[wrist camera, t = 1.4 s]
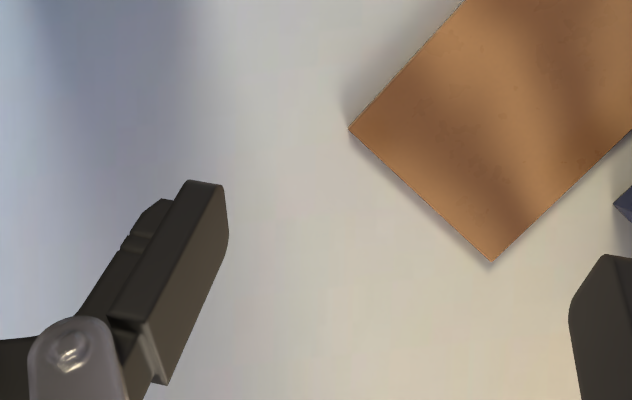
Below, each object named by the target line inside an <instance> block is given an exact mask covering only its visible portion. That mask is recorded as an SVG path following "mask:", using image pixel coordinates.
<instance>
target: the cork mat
mask: <svg viewBox="0 0 632 400" xmlns="http://www.w3.org/2000/svg"><path fill="white" fill-rule="evenodd" d="M631 129H632V0H465V1H464V2H463V3H462V4H461V5H460V6H459V7H458V8H457V9H456V10H455V12H454V13H453V14H452V15H451V16H450V17H449V18H448V19H447V20H446V21H445V22H444V24H443V25H442V26H441V27H440V28H439V29H438V30H437V31H436V32H435V33H434V34H433V35H432V37H431V38H430V39H429V40H428V41H427V42H426V43H425V44H424V45H423V46H422V47H421V48H420V50H419V51H418V52H417V53H416V54H415V55H414V56H413V57H412V58H411V59H410V60H409V62H408V63H407V64H406V65H405V66H404V67H403V68H402V69H401V70H400V71H399V72H398V73H397V75H396V76H395V77H394V78H393V79H392V80H391V81H390V82H389V83H388V84H387V85H386V87H385V88H384V89H383V90H382V91H381V92H380V93H379V94H378V95H377V96H376V97H375V98H374V100H373V101H372V102H371V103H370V104H369V105H368V106H367V107H366V108H365V109H364V110H363V111H362V113H361V114H360V115H359V116H358V117H357V118H356V119H355V120H354V121H353V122H352V123H351V125H350V126H349V127H348V130H349V131H350V132H351V133H352V134H354V135H355V136H356V137H357V138H358V139H359V140H360V141H361V142H362V143H363V144H364V145H365V146H366V147H368V148H369V149H370V150H371V151H372V152H373V153H374V154H375V155H376V156H377V157H378V158H379V159H380V160H382V161H383V162H384V163H385V164H386V165H387V166H388V167H389V168H390V169H391V170H392V171H393V172H394V173H396V174H397V175H398V176H399V177H400V178H401V179H402V180H403V181H404V182H405V183H406V184H407V185H408V186H410V187H411V188H412V189H413V190H414V191H415V192H416V193H417V194H418V195H419V196H420V197H421V198H422V199H424V200H425V201H426V202H427V203H428V204H429V205H430V206H431V207H432V208H433V209H434V210H435V211H436V212H438V213H439V214H440V215H441V216H442V217H443V218H444V219H445V220H446V221H447V222H448V223H449V224H450V225H452V226H453V227H454V228H455V229H456V230H457V231H458V232H459V233H460V234H461V235H462V236H463V237H464V238H466V239H467V240H468V241H469V242H470V243H471V244H472V245H473V246H474V247H475V248H476V249H477V250H478V251H480V252H481V253H482V254H483V255H484V256H485V257H486V258H487V259H488V260H489V261H490V262H492V261H494V260H495V259H496V258H497V257H498V256H499V255H500V254H501V253H502V252H503V251H504V250H505V249H506V248H507V247H508V246H509V245H510V244H511V243H512V242H514V241H515V240H516V239H517V238H518V237H519V236H520V235H521V234H522V233H523V232H524V231H525V230H526V229H527V228H528V227H529V226H530V225H531V224H532V223H534V222H535V221H536V220H537V219H538V218H539V217H540V216H541V215H542V214H543V213H544V212H545V211H546V210H547V209H548V208H549V207H550V206H551V205H552V204H554V203H555V202H556V201H557V200H558V199H559V198H560V197H561V196H562V195H563V194H564V193H565V192H566V191H567V190H568V189H569V188H570V187H571V186H572V185H574V184H575V183H576V182H577V181H578V180H579V179H580V178H581V177H582V176H583V175H584V174H585V173H586V172H587V171H588V170H589V169H590V168H591V167H592V166H594V165H595V164H596V163H597V162H598V161H599V160H600V159H601V158H602V157H603V156H604V155H605V154H606V153H607V152H608V151H609V150H610V149H611V148H612V147H614V146H615V145H616V144H617V143H618V142H619V141H620V140H621V139H622V138H623V137H624V136H625V135H626V134H627V133H628V132H629V131H630V130H631Z"/></svg>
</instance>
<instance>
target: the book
mask: <svg viewBox="0 0 632 400" xmlns="http://www.w3.org/2000/svg"><path fill="white" fill-rule="evenodd" d="M613 205H614V206H615V207H616V208H617V209H618V210H619V211H620V212H621V213H622V214H623V215H624V216H625V217H626V218H627V219H628V220H629V221H630V222H631V223H632V186H631V187H630V188H629V189H628V190H627V191H626V192H625V193H624V194H623V195H621V196H620V197H619V198H618V199H617V200H616V201H615V202H614V203H613Z"/></svg>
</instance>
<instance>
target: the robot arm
mask: <svg viewBox="0 0 632 400" xmlns="http://www.w3.org/2000/svg"><path fill="white" fill-rule="evenodd" d="M228 239H229V228H228V220H227V211H226V203H225V194H224V189H223V187H222V185H218V184H212V183H206V182H201V181H195V180H187V181H186V182H185V183H184V184H183V186H182V188H181V189H180V191H179V193H178V194H177V196H176V198H175V199H174V201H173V200H167V199H162V198H161V199H160V200H159V201H157V202H156V203H155V204H153V205H152V206H151V207H149V208H148V209H147V210H145V211H144V212H143V213H142V214H141V215H140V217H139V218H138V220H137V222H136V223H135V225H134V226H133V228H132V229H131V231H130V235H129V236H128V235H127V237H126V239H125V240H124V242H123V243H122V245H121V246H120V250H119V251H117V252H116V254H115V256H114V257H113V259H112V260H111V262H110V263H109V265H108V266H107V268H106V269H105V271H104V273H103V274H102V276H101V277H100V279H99V280H98V282H97V283H96V285H95V286H94V288H93V290H92V291H91V293H90V294H89V296H88V297H87V299H86V300H85V302H84V303H83V305H82V306H81V308H80V309H79V311H78V312H77V313H76V314H75V315H74V316H73V317H69V318H65V319H63V320H60V321H58V322H56V323H54V324H52V325H51V326H50V327H48V328H47V329H45V330H44V331H43V332H42V333H41V334H40V335H38V336H33V337H26V338H16V339H6V340H0V400H143V398H144V396H145V394H146V391H147V389H148V387H149V385H150V383H151V382H152V383H156V384H161V385H165V386H168V383H169V381H170V379H171V377H172V374H173V372H174V370H175V367H176V365H177V363H178V361H179V358H180V356H181V354H182V352H183V349H184V347H185V345H186V343H187V340H188V338H189V336H190V333H191V331H192V329H193V327H194V324H195V322H196V320H197V318H198V315H199V313H200V311H201V309H202V306H203V304H204V302H205V299H206V297H207V295H208V293H209V290H210V288H211V286H212V284H213V281H214V279H215V277H216V275H217V272H218V270H219V268H220V266H221V263H222V261H223V259H224V256H225V253H226V250H227V245H228ZM568 324H569V331H570V336H571V342H572V348H573V353H574V359H575V365H576V370H577V376H578V382H579V388H580V393H581V399H582V400H632V258H626V257H620V256H614V255H609V254H604V255H603V256H601V257H600V258H599V260H598V261H597V262H596V264H595V265H594V267H593V268H592V270H591V271H590V273H589V274H588V276H587V277H586V279H585V280H584V282H583V283H582V285H581V286H580V288H579V289H578V291H577V292H576V294H575V295H574V297H573V299H572V301H571V304H570V308H569V315H568Z"/></svg>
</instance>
